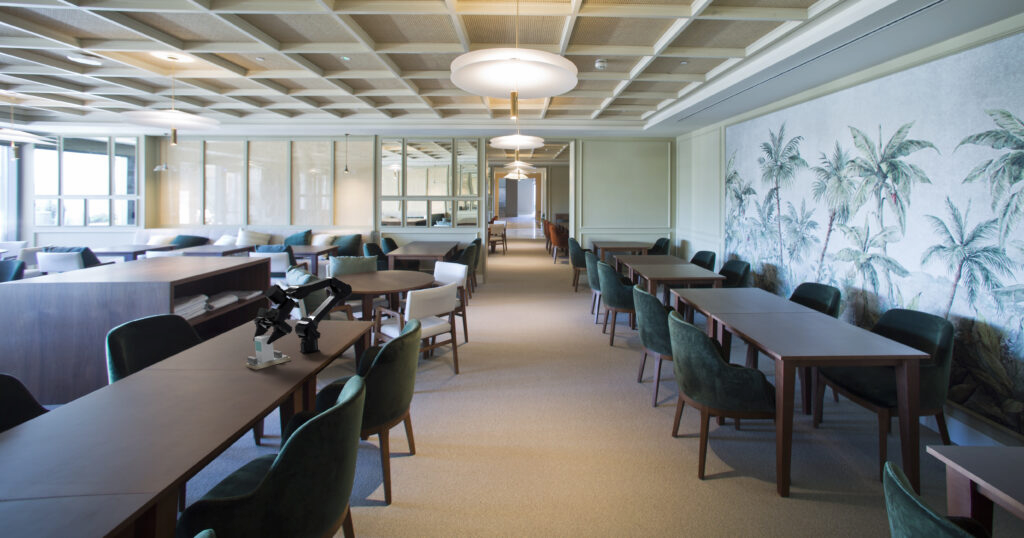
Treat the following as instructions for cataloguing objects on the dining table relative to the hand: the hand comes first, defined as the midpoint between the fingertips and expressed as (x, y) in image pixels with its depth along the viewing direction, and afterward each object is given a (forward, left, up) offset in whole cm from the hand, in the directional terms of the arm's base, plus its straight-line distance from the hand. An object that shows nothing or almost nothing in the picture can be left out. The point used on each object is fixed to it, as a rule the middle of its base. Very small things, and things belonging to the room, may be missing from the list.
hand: (260, 342), depth 209 cm
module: (-1, 0, -8) cm, 8 cm away
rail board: (-3, 0, -10) cm, 10 cm away
